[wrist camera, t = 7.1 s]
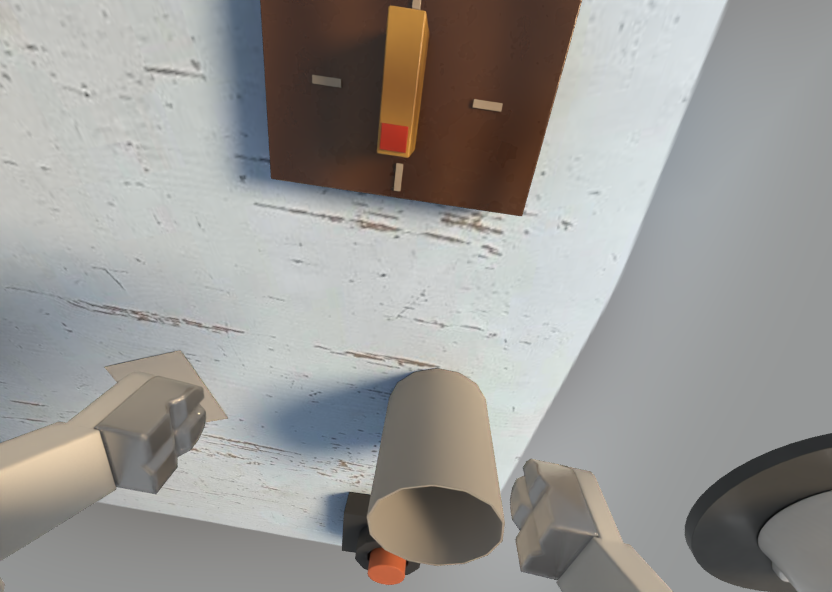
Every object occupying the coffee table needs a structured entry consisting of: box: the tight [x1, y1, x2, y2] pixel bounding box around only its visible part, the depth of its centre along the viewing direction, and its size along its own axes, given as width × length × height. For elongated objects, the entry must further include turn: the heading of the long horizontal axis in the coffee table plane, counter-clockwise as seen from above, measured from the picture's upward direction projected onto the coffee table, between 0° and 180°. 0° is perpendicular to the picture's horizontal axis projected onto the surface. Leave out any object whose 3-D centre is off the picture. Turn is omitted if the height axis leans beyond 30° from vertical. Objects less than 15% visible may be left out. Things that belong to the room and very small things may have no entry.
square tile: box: [104, 351, 228, 422], centre depth 30 cm, size 8×8×2 cm
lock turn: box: [377, 5, 429, 158], centre depth 15 cm, size 5×1×4 cm, turn 172°
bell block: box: [342, 492, 420, 575], centre depth 36 cm, size 10×7×4 cm
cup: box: [367, 368, 505, 566], centre depth 25 cm, size 8×8×10 cm
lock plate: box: [260, 0, 582, 216], centre depth 18 cm, size 14×10×3 cm
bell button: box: [368, 547, 406, 585], centre depth 34 cm, size 4×4×2 cm
